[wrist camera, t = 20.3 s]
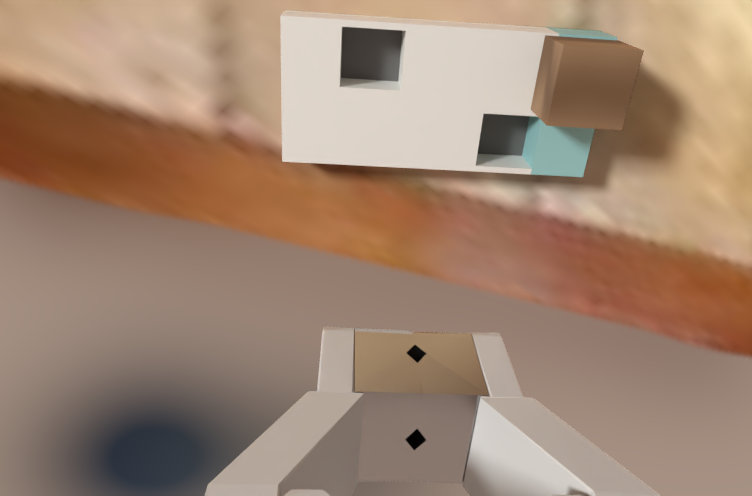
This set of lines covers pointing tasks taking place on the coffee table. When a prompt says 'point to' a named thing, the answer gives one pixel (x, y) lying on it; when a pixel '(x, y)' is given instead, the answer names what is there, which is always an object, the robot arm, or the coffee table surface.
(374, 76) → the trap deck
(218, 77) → the coffee table surface
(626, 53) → the block
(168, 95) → the coffee table surface
